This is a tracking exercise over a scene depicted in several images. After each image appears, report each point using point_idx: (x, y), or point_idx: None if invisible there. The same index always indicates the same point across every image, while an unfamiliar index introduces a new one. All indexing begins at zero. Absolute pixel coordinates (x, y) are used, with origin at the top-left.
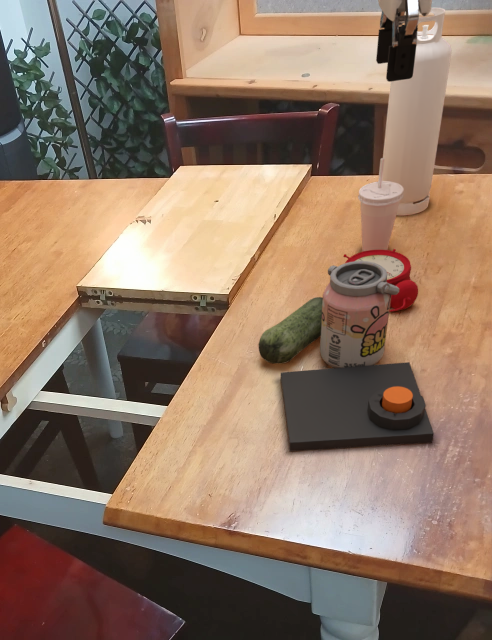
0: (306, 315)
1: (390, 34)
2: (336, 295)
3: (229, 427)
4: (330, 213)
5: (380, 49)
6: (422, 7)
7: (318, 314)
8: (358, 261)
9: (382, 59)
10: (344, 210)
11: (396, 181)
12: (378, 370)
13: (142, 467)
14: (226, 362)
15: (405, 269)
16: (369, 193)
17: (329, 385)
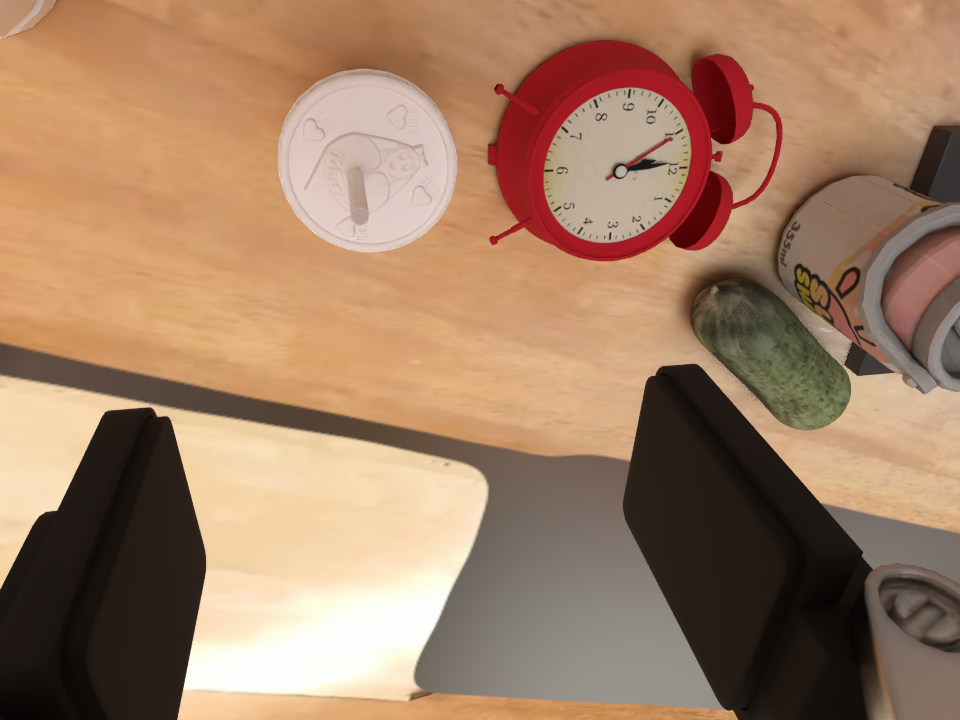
0: (799, 359)
1: (134, 714)
2: None
3: (916, 432)
4: (46, 223)
5: (185, 647)
6: None
7: (793, 332)
8: (945, 329)
9: (197, 556)
10: (17, 173)
11: (3, 2)
12: (944, 201)
13: (934, 523)
14: None
15: (659, 87)
16: (387, 216)
17: None
